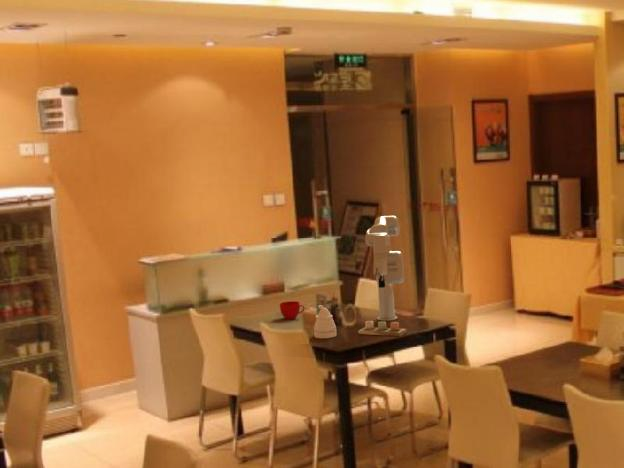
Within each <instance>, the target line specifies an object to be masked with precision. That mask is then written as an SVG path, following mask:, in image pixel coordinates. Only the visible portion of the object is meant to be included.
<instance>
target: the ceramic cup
mask: <svg viewBox="0 0 624 468" xmlns="http://www.w3.org/2000/svg"><path fill="white" fill-rule="evenodd" d="M300 303H301V302H300V301H296V300H295V301H284V302H280V303H279V309H280V312H281V313H280V314H281V315H282V316H283V318H284V319H285V320H294V319H296V318H297V316H299V314H301V313H303V312H304V311H305V306H304V305H303V304H301V305H300ZM301 307H302V310H301V311H300V308H301Z"/></svg>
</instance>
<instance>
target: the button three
mask: <svg viewBox="0 0 624 468" xmlns="http://www.w3.org/2000/svg"><path fill="white" fill-rule="evenodd" d="M390 328H391V330H392V331H397V330H399V329H400V323H399V322H397V321H392V322H390Z"/></svg>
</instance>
